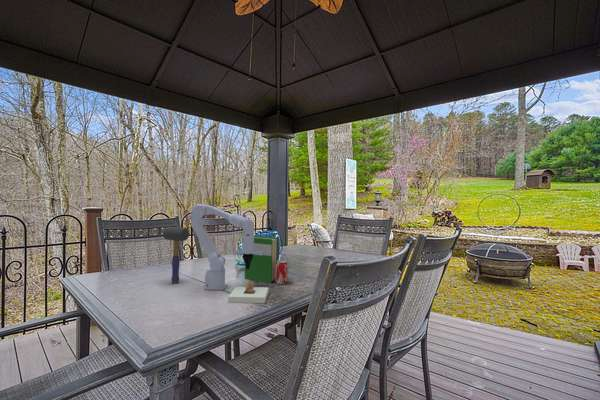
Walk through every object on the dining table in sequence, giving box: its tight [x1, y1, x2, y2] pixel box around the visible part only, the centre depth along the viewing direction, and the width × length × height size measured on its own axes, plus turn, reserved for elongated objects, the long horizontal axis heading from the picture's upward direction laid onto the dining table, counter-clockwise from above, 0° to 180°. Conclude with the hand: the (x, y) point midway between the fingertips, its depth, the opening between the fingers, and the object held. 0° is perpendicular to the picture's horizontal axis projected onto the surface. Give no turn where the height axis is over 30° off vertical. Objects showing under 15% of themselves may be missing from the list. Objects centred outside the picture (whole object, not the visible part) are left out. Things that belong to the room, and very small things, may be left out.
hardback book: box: [244, 235, 280, 285], centre depth 157 cm, size 18×7×24 cm, turn 63°
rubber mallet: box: [162, 226, 190, 284], centre depth 149 cm, size 12×8×30 cm, turn 72°
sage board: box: [227, 286, 270, 304], centre depth 128 cm, size 16×14×2 cm
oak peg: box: [245, 280, 255, 294], centre depth 128 cm, size 4×4×7 cm
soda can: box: [274, 259, 289, 285], centre depth 151 cm, size 7×7×12 cm
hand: (247, 268), depth 143 cm, fingers closed
